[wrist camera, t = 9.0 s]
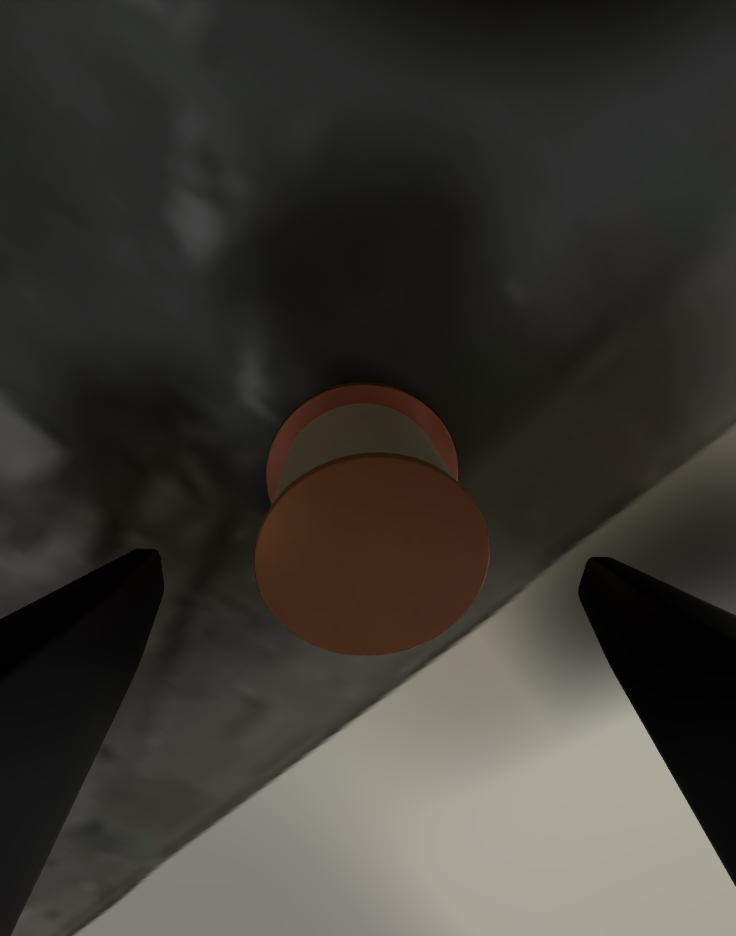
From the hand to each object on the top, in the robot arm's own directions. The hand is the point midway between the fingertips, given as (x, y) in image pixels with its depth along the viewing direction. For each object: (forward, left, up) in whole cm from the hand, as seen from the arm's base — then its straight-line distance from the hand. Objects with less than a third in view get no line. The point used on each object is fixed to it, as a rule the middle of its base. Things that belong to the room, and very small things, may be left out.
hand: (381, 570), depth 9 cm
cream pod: (0, 0, -5) cm, 5 cm away
